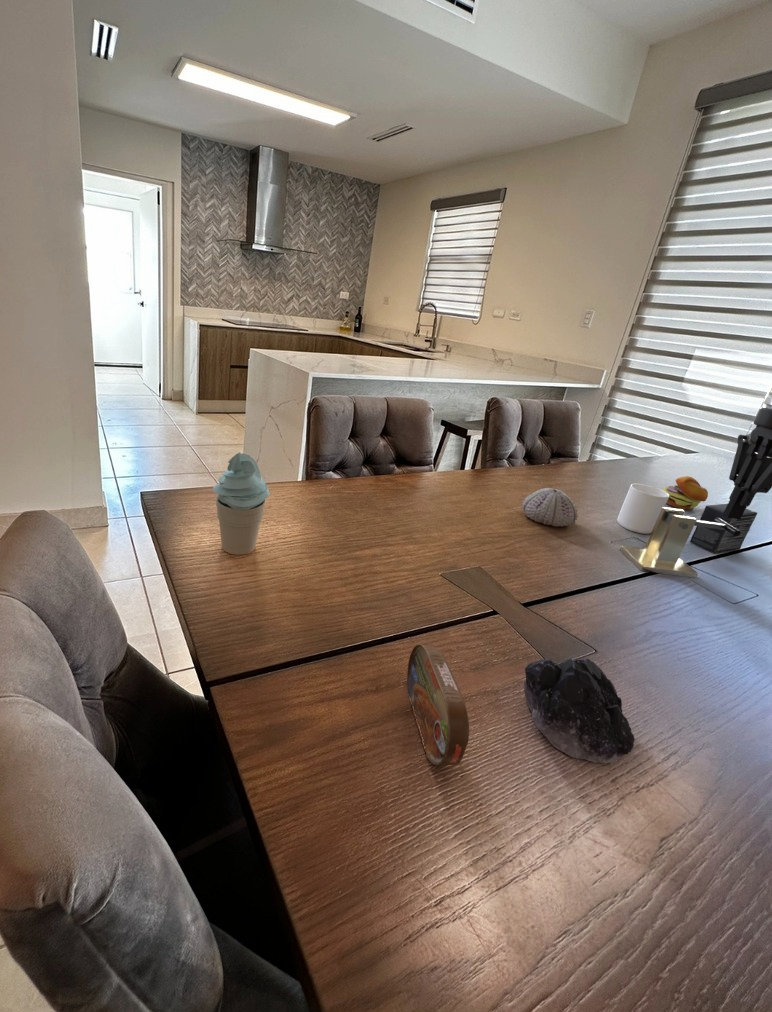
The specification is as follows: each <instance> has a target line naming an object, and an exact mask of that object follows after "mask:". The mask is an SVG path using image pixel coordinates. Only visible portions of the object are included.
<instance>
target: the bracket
mask: <svg viewBox="0 0 772 1012" xmlns="http://www.w3.org/2000/svg"><path fill="white" fill-rule="evenodd" d="M668 513H675V514H682V515H683V516H678V515H673V518H672V520H671V522H670V524H669V525H668V524H666V523H665V520H666V518H667V516H668ZM685 513H686V512H685V509H681V508H675V507H674V508H673V507H666V506H665V507H662V509H661V511H660V514H659V516H658V518H657V521H656V523H655V525H654V527H653V530H652V532H651V533H650V534H649V537H648V539H647V542H646V544H645V546H644V548H642V547H634V546H626V545H621V546H620V549H619V551H620V552H621V553H622V554H623V555H624V556H625V557H626V558H627V559H628V560H629V561H630V562H631V563H632V564H633V565H634V566H635V567H636V568H638V569H639V571H641V572H647V573H654V574H655V573H656V574H663V575H670V576H677V577H685V578H692V579H697V577H698V576H699V572H697V571H696V570H695V569H694V568H693V567H691V566H690V565H689V564H687V562H685V561H684V560H683V559H682V558H680V557H681V555H682V553H683V550H684V548H685V546H686V545H687V542H688V540H689V538H690V536H691V534H692V533H693V529H694V527H695V526H694V525H695V523H696V521H697V520H698V519H697V518H696V517H692V516H687V515H686V516H685Z"/></svg>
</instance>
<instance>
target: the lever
mask: <svg viewBox="0 0 772 1012" xmlns="http://www.w3.org/2000/svg"><path fill="white" fill-rule="evenodd" d="M673 515H678V516H684V515H682V514H675V513H668V516H667V518H666V520H665V523H666V524H668V525H669V524H670V522H671V520H672V518H673ZM699 520H700V519H697V521H696V523H695V525H694V527H697V526H700V527H707V528H715V529H723V530H726V531H727V532H729V533H730V534H732V535H734V536H739V535H740V534H741V532H740V531H739V530H738V529H736V528H734V527H733V526H731V525H730V524H728V523H726V522H725V521H723V520H722V519H720V518H717V519H715V520H714V522H707V521H699Z"/></svg>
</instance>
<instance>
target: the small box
mask: <svg viewBox="0 0 772 1012" xmlns="http://www.w3.org/2000/svg"><path fill="white" fill-rule="evenodd" d="M727 505H728V503H718V504H710V505H709V504H708V505H705V507H704V509H703V512H701V513H702V514H701V515H700V517H699V519H698V520H699V521H707V522H714V520H715V519H717V518H720V519H722V520H723V521H725V522H726V523H728V524H730V525H731V526H733V527H734V528H736V529H738V530H739V531H740V532H741V534H740V535H739V536H734V535H732V534H730V533H729V532H727V531H726V530H723V529H715V528H707V527H700V526H695V529H694V531H693V532H692V535H691V538H690V539H689V543H690V544H693V545H695V546H697V547H699V548H701V549H703V550H705V551H707V552H710V553H712V554H714V555H715V554H720V553H728V552H734V551H740V550H741V547H742V546H743V543H744V542H745V539H746V536H747V535H748V533H749V531H750V529H751V527H752V525H753V523H754V521H755V520H756V517H757V516H758V512H756V511H753V510H751V509H748V508H746V509H745V511H744V513H743V515H742V517H741V519H733V518H727V517H725V516H724V515H723V513H724V511H725V509H726V507H727Z"/></svg>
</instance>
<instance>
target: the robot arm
mask: <svg viewBox="0 0 772 1012" xmlns="http://www.w3.org/2000/svg"><path fill="white" fill-rule="evenodd" d="M763 404H764V405H765V406H761V407H760V408H759V409H758V411H757V413H756V415H755V418H754V420H753V425H755V427H754V428H753V429H752V430H751V432H750V433H748V434H739V435H738V436H737V448H736V451H735V454H734V459H733V463H732V467H731V469H730V473H729V476H728V480H729V481H732V482H733V485H734V487H733V489H732V491H731V493H730V495H729V498H728V500H729V501H728V502H727V504H728V505H727V507H726V509H725V511H724V513H723V515H724V516H725V517H727V518H733V519H741V517H742V515H743V513H744V511H745V509H747V508H748V507H749V506H751V504H752V501H753V500H754V498H755V496H756V495H757V494H759V493H761V494H768V493H769V491H771V489H772V384H771V386H770V387H769V390H768V392H767V393H766V395H765V398H764V400H763Z"/></svg>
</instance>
